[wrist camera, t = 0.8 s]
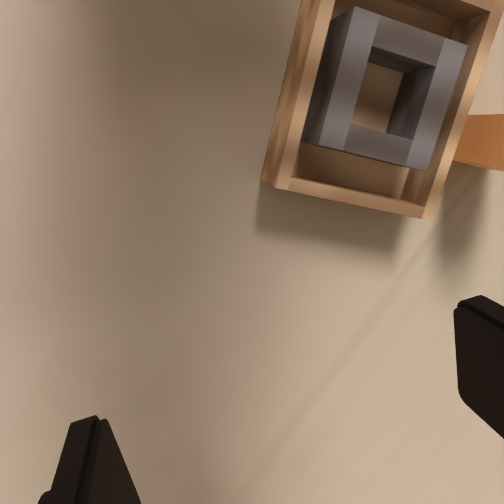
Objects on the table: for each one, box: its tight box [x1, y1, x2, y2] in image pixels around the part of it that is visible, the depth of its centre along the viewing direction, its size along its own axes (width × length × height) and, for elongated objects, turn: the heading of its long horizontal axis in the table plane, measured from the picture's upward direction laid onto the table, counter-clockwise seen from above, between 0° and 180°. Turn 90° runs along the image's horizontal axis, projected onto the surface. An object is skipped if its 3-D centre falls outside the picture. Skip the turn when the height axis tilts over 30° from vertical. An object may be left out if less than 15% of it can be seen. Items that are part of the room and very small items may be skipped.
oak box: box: [261, 0, 504, 221], centre depth 34 cm, size 17×14×6 cm
